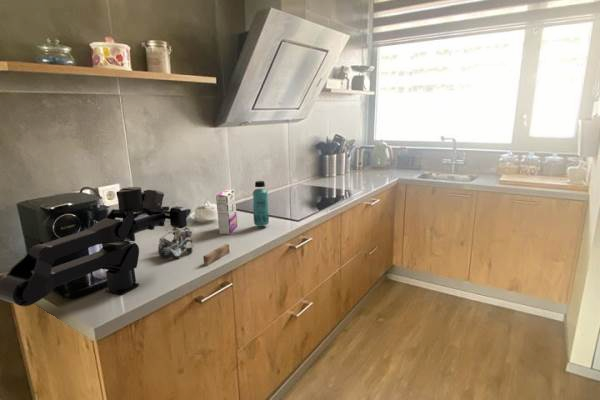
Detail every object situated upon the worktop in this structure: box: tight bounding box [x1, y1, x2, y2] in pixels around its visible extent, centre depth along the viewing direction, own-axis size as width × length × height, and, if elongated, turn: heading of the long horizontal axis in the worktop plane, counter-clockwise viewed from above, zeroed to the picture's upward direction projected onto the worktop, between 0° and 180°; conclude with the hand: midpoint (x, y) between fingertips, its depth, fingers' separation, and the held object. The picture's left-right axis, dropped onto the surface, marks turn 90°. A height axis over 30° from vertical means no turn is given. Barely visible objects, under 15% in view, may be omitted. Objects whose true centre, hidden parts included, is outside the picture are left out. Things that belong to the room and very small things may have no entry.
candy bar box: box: [215, 189, 238, 235], centre depth 150 cm, size 11×5×16 cm, turn 174°
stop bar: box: [203, 243, 230, 266], centre depth 121 cm, size 12×2×3 cm, turn 155°
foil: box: [157, 227, 194, 259], centre depth 128 cm, size 12×11×15 cm
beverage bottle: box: [252, 180, 270, 227], centre depth 153 cm, size 6×7×20 cm
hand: (179, 209), depth 120 cm, fingers open, 9 cm apart
